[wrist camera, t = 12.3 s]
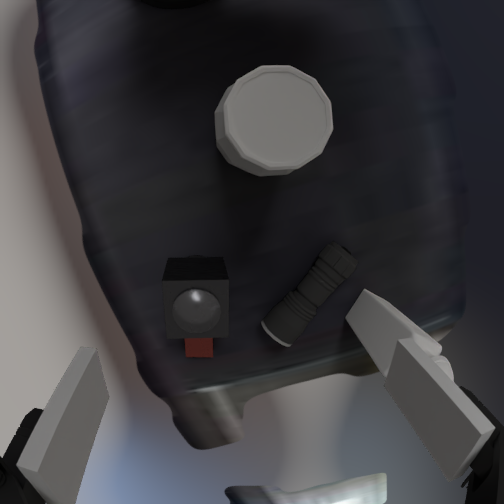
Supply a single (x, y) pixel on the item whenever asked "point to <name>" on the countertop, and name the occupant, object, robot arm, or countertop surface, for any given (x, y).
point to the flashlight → (309, 294)
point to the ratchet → (198, 342)
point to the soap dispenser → (389, 332)
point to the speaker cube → (196, 298)
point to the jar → (273, 121)
